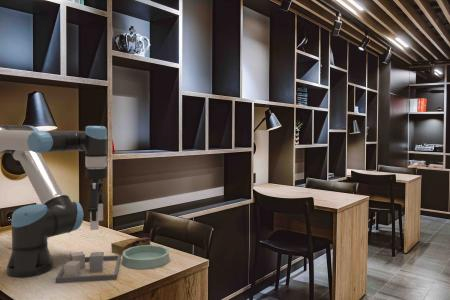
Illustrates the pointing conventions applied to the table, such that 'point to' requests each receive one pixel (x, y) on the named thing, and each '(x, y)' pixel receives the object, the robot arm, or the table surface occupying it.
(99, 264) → the grey square pillar
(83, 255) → the pale grey block
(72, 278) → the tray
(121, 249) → the stone
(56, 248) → the table surface
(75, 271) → the light grey block
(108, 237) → the table surface
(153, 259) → the bowl
